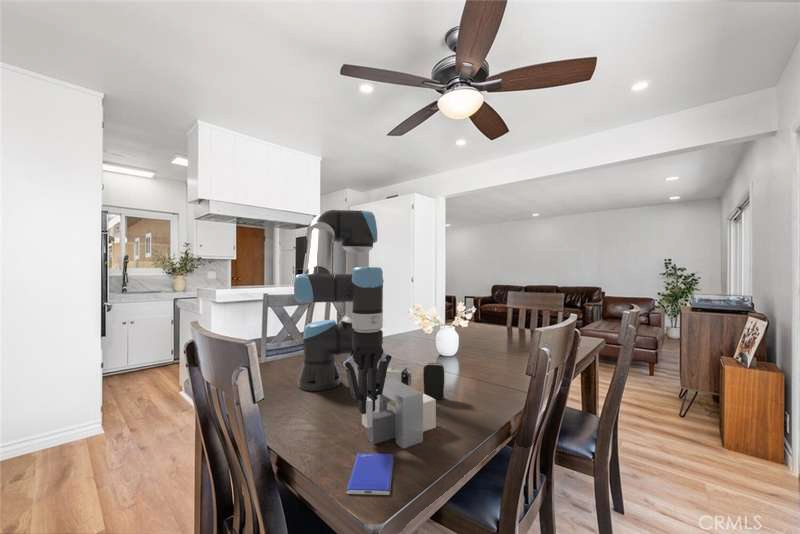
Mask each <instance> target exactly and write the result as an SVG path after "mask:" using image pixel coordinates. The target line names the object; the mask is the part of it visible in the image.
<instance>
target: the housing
mask: <svg viewBox="0 0 800 534" xmlns="http://www.w3.org/2000/svg"><path fill="white" fill-rule="evenodd" d="M423 393H424V392H421V391H420V390H417V388H414V387H412V386H411V385H410V386H408V385H406V384H404V383H401V382H399V381H397V380H395V379H393V378H390V379H386V380H385V383H384V388H383V393H382V394H381V395H378V396H377V397H378V399H377V400H375V411H373V414H375V413H379V412H382V411H386V410H387V402H390V401H395V402H396V438H395V444H396V445H398V447H400V448H401V449H403V450H404V449H406V448H409V447H413V446H415V445H417V444H421V443H423V442H424V432H423Z"/></svg>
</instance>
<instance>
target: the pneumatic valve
mask: <svg viewBox="0 0 800 534" xmlns="http://www.w3.org/2000/svg"><path fill="white" fill-rule="evenodd" d="M377 371H378V368H377ZM377 371H376V376H377ZM390 378H393V379H395V380H397V381H399V382H401V383H404V384H406V385H408V386H410V387H411V385H412V374H411V373H410V372H409V371H408V368H407V367H397V366H396V367H395V366H394V365H391V364H390V366H388V368H387V373H386V378H385V380H386V379H390Z"/></svg>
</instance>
